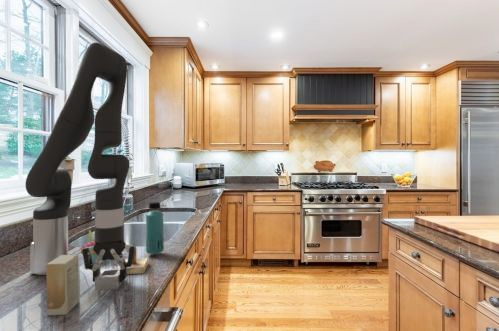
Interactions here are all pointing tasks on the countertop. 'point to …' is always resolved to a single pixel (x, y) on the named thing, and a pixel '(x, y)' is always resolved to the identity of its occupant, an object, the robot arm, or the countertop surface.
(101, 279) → the link
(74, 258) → the skincare box
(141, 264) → the keeper
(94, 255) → the cupcake
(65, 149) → the robot arm
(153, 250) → the beverage bottle
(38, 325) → the countertop surface
